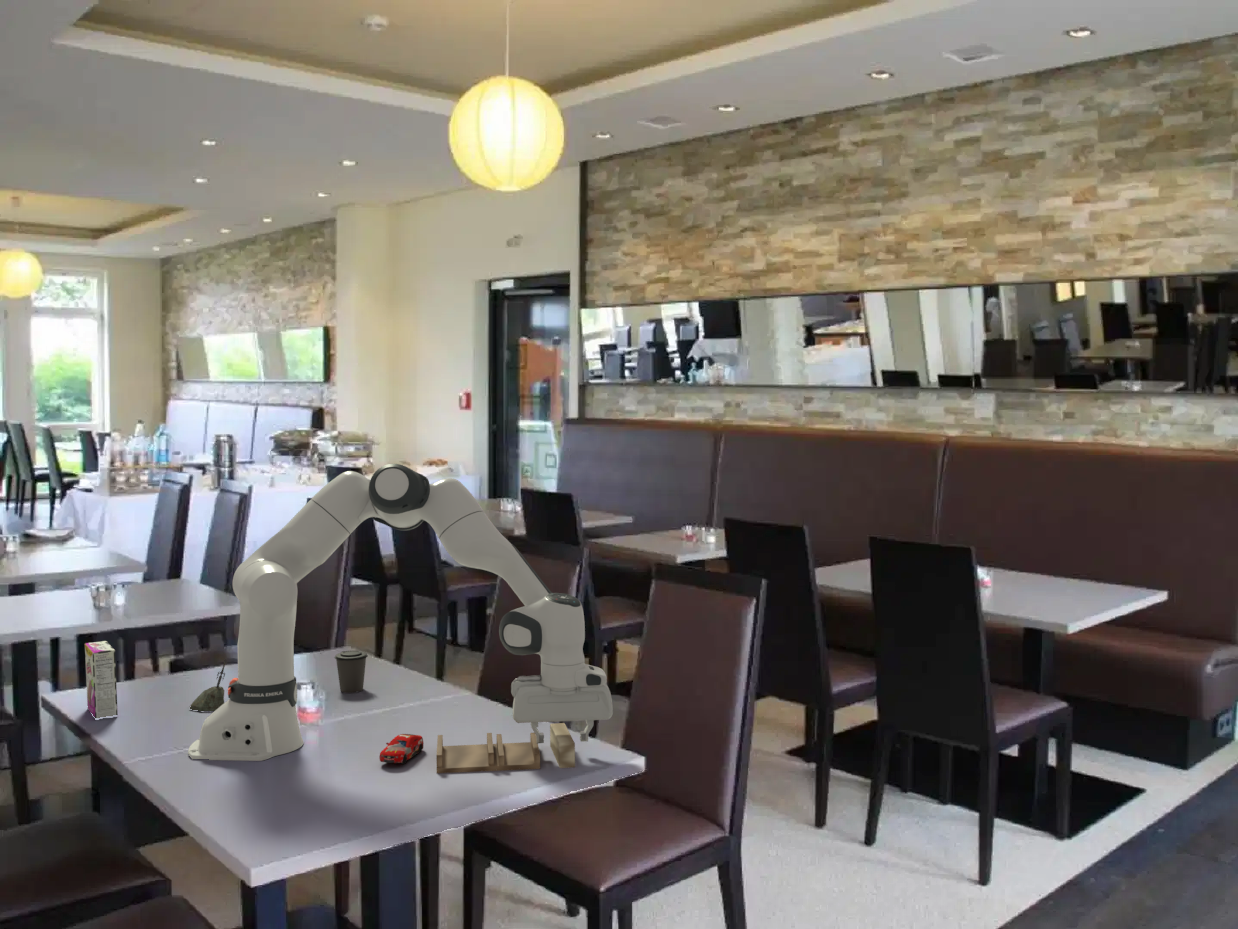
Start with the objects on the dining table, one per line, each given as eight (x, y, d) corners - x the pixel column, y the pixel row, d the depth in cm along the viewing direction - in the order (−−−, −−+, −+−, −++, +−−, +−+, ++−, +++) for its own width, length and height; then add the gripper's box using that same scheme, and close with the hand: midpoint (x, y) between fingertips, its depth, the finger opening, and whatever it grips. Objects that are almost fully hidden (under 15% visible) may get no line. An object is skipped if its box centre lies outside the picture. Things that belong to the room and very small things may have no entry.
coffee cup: (334, 689, 278) (333, 649, 277) (367, 686, 280) (366, 647, 280) (335, 697, 270) (335, 656, 270) (370, 694, 273) (369, 654, 272)
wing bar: (559, 769, 218) (559, 744, 218) (550, 747, 232) (550, 723, 232) (574, 768, 219) (574, 743, 219) (564, 746, 233) (564, 723, 232)
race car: (400, 768, 217) (400, 747, 216) (374, 765, 218) (375, 745, 218) (428, 749, 229) (428, 730, 229) (403, 747, 231) (404, 727, 231)
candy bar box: (85, 713, 257) (83, 643, 256) (109, 709, 260) (107, 640, 259) (94, 724, 248) (92, 652, 247) (118, 721, 251) (116, 649, 250)
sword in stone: (191, 719, 253) (189, 667, 252) (184, 710, 260) (183, 660, 259) (236, 712, 258) (235, 661, 257) (229, 704, 265) (227, 654, 264)
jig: (436, 774, 215) (436, 756, 215) (438, 751, 229) (437, 734, 229) (540, 769, 218) (539, 751, 218) (535, 746, 232) (535, 730, 231)
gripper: (511, 680, 220) (511, 749, 221) (614, 677, 223) (613, 744, 224) (510, 672, 226) (510, 738, 227) (610, 669, 229) (609, 734, 230)
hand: (562, 741), depth 226 cm, fingers open, 7 cm apart
